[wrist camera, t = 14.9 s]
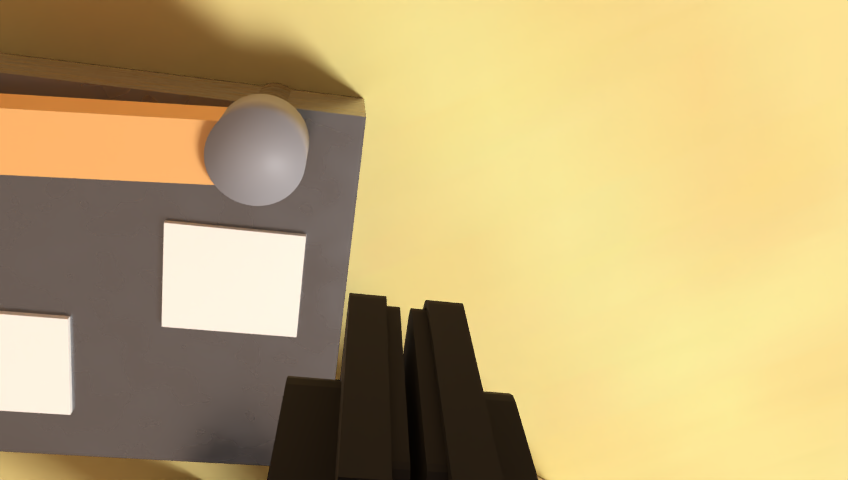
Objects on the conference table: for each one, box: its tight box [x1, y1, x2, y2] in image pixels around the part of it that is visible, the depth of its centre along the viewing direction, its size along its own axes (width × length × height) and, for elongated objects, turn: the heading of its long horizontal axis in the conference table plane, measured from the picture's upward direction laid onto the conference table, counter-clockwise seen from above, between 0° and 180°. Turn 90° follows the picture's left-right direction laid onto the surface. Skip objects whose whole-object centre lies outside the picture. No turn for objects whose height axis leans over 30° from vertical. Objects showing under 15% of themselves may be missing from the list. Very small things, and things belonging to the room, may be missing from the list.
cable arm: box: [0, 93, 309, 206], centre depth 27 cm, size 20×4×3 cm, turn 85°
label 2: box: [162, 220, 306, 337], centre depth 34 cm, size 6×5×1 cm
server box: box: [0, 53, 366, 466], centre depth 34 cm, size 22×18×6 cm
